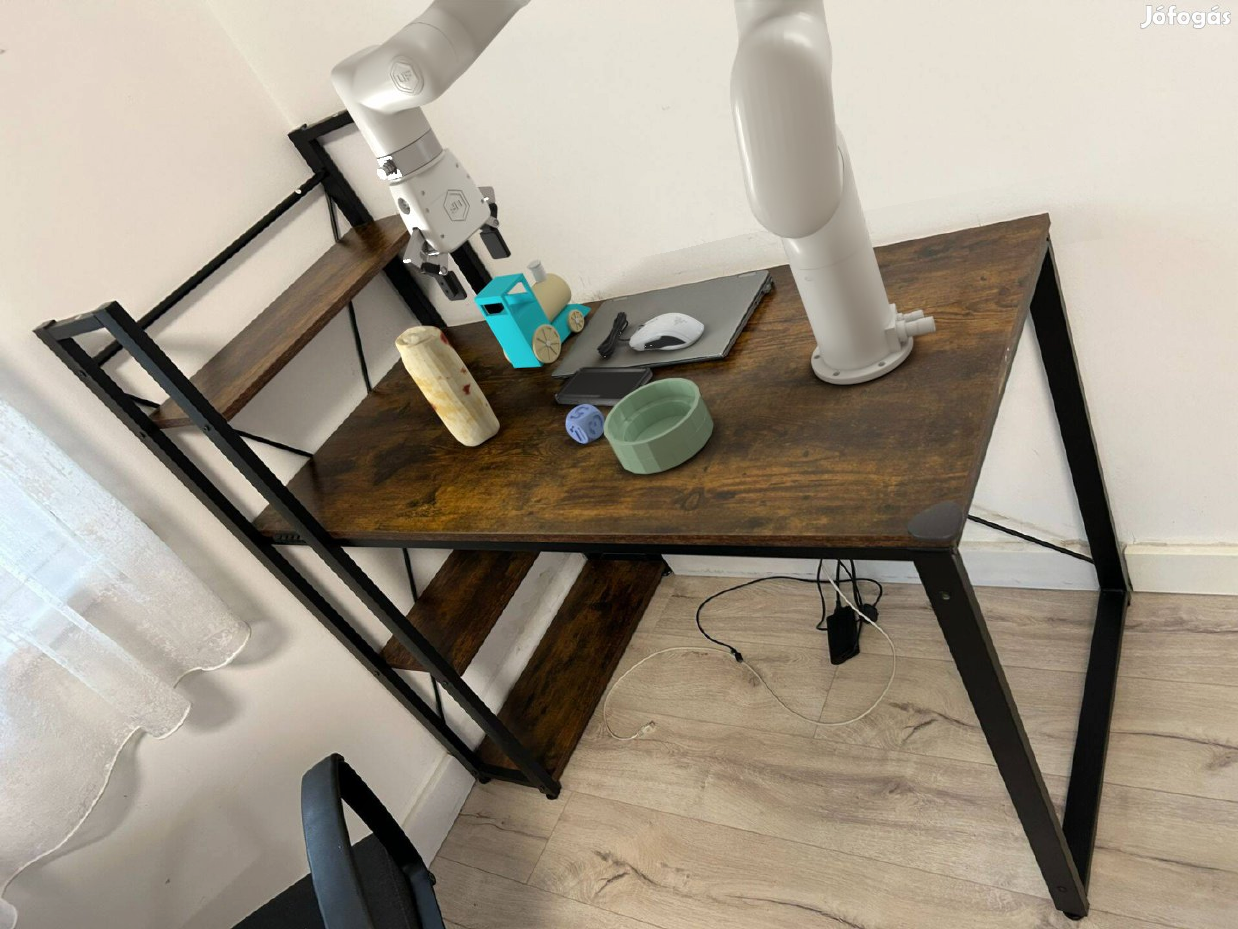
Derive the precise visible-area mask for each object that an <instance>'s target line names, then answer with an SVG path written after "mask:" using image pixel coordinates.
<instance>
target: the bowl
mask: <svg viewBox="0 0 1238 929" xmlns="http://www.w3.org/2000/svg"><path fill="white" fill-rule="evenodd" d="M604 420H605V423H604V431H603V435H604V437H605V439H606V440H607V442H608V444H609V446H610V448H611V449H612V451H613V453H614V455H615V457H616V458H617V460H618V462H619V463H620V465H621V466H622V467H623V469H624V470H627V471H628V472H631V473H632V474H642V475H649V474H655V473H661V472H664V471H667V470H669V469H672V468H676V467H678V466H679V465H681V464H683V463H684V462H686V461H687V460H689V459H692V457H694V456H695V455H696V454H697V453H698V452H699V451H700V450H701V449H702V448H704V447H705V445H706V444H707V442H708V440H709V439H710V437H711V436H712V434H713V433H712V432H713V429H714V421H713V416H712V414H711V412H710V409H709V407H708V405H707V403H706V401H705V398H704V397H703V394H702V392H701V390H700V387H699V386H698V385H697V384H696V383H695V382H693V381H692V380H691V379H687V378H683V377H668V378H663V379H659V380H655V381H652V382H650V383H649V382H648V383H647V384H646V385H645V386H642V387H640V388H638V389H637V390H635V391H633V392H632V393H630V394H628V395H627V396H625V397H624V398H623V399H622V400H621V401H619V402H618V403H617V404H616V405H615V406H613V407H612V409H611V410H610V411H609V412H608V414H607V415H606V418H605V419H604Z"/></svg>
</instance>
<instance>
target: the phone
mask: <svg viewBox="0 0 1238 929" xmlns="http://www.w3.org/2000/svg"><path fill="white" fill-rule="evenodd" d="M653 376H654V374H653V372H652V370H651V368H650V367H649V366H583V367H580V368H578V369H576V371H575V372H574V373H573V374H572V375H571V376H570V377H569V378H568V379H567V380H566V381H565V383H564V384H563V385H562V386H561V387H560V388H559V389H558V391H557V392H556V393H555V394H554V399H555V401H556V402H557V404H559V405H577V406H580V405H583V404H589V405H592V406H605V407H606V406H609V407H614V406H615V405H616V404H617V403H618V402H619V401H621V400H622V399H623V398H624V397H625V396H627V395H628V394H630V393H632V392H633V391H635V390H637V389H638V388H640V387H642V386H645V385H647V384H649V382H650V380H651V379H652V378H653Z"/></svg>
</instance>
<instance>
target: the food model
mask: <svg viewBox="0 0 1238 929" xmlns="http://www.w3.org/2000/svg"><path fill="white" fill-rule="evenodd" d="M395 346H396V348H397V350H398V352H399V353H400V357H401V361H402V363H403V365H404V368H405V369H406V370H407V373H408V374H409V375H410V376H411V378H412V379H413V381H414V382H415V383H416V386H418V388H419V389H420V391H421V392H422V394H423V395H424V397H425V398H426V400H427V401H428V403H429V404H430V406H431V407H432V408H433V409H434V411H435V413H436V414H437V415H438V417H439V418H440V419H441V421H442V423H443V424H444V426H446V428H447V430H448V431H449V432H450V433H451V434H452V436H453V437H454V438H455V439H456V440H457V441H458V442H459V443H461V444H463V445H464V446H466V447H477V446H480V444H482V443H484V442H485V441H487V440H488V439H490V438H492V437H494V436H495V435H497V434H498V432H499V429H500V422H499V419H498V418H497V417H496V415H495V413H494V411H493V409H492V407H491V405H490V403H489V401H488V400H487V398H486V396H485V395H484V393H483V392H482V389H481V388H480V387H479V385H478V383H477V382H476V380H475V378H473V375H472V374H471V372H470V371H469V369H468V368H467V365H465V363H464V361H463V359H461V357H460V355H459V354H458V353H457V351H456V350H455V349H454V348H453V345H451V343H450V342H449V340H448V339H447V337H446V336H445V334H444V332H443V331H442V330H441V329H439V328H438V327H437V326H433V325H417V326H412V327H409V328H407V329H406V330H404V331H402V333H400V335H399V336H397V338H396V339H395Z"/></svg>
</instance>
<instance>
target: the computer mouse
mask: <svg viewBox="0 0 1238 929" xmlns="http://www.w3.org/2000/svg"><path fill="white" fill-rule="evenodd" d="M627 316H628V315H627V314H626V312H625V311H619V312H617V314H616V317H615V319H614V320H613V323H612V328H611V330H610V331H609V334H608V335H607V337H605V339H604V340H603V341H602V342H601V344H600V345H598V347H597V348H596V350H597V351H598V352H597V353H598V355H599V356H600V357H601V358H604V359H608V358H610V357H611V356H612V355H613V354H614V352H615V351H616V347H617V345H618V341H620V342H628V344H629V346H630V348H632V347H636V348H633V349H634V350H636V351H638V352H641V351H649V350H650V351H651V350H662V351H674V350H680V349H685V348H688V347H690V346H691V345H693V344H695V343H696V342H697V341H698V340H699V339H700V338H701V336H702V334H703V333H704V331H705V325H704V324H703V323H702V322H700V321H699V320H697V319H695V318H694V317H691V316H690V315H687V314H684V313H681V312H669V313H663V314H660V315H657V316H655V317H653V318H652V319H650V320H648V321H646V322H645V323H642V324H640V325H639V326H638V327H637V330H636V331H634V333H633V335H631V336H630V338H620V336H621V335H620V332H621V334H622V333H624V331H625V330H626V329H627V328H628V327H629V320H628V318H627ZM619 335H620V336H619ZM650 345H652V346H650ZM645 346H646V347H645ZM638 347H639V348H638ZM604 356H606V357H604Z"/></svg>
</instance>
